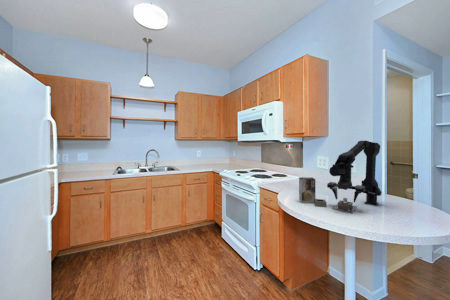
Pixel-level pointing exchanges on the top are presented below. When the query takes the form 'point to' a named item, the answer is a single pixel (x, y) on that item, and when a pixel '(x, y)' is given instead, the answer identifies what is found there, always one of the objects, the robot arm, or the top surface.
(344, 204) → the link
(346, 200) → the keeper
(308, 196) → the coffee box
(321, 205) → the link
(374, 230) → the top surface
